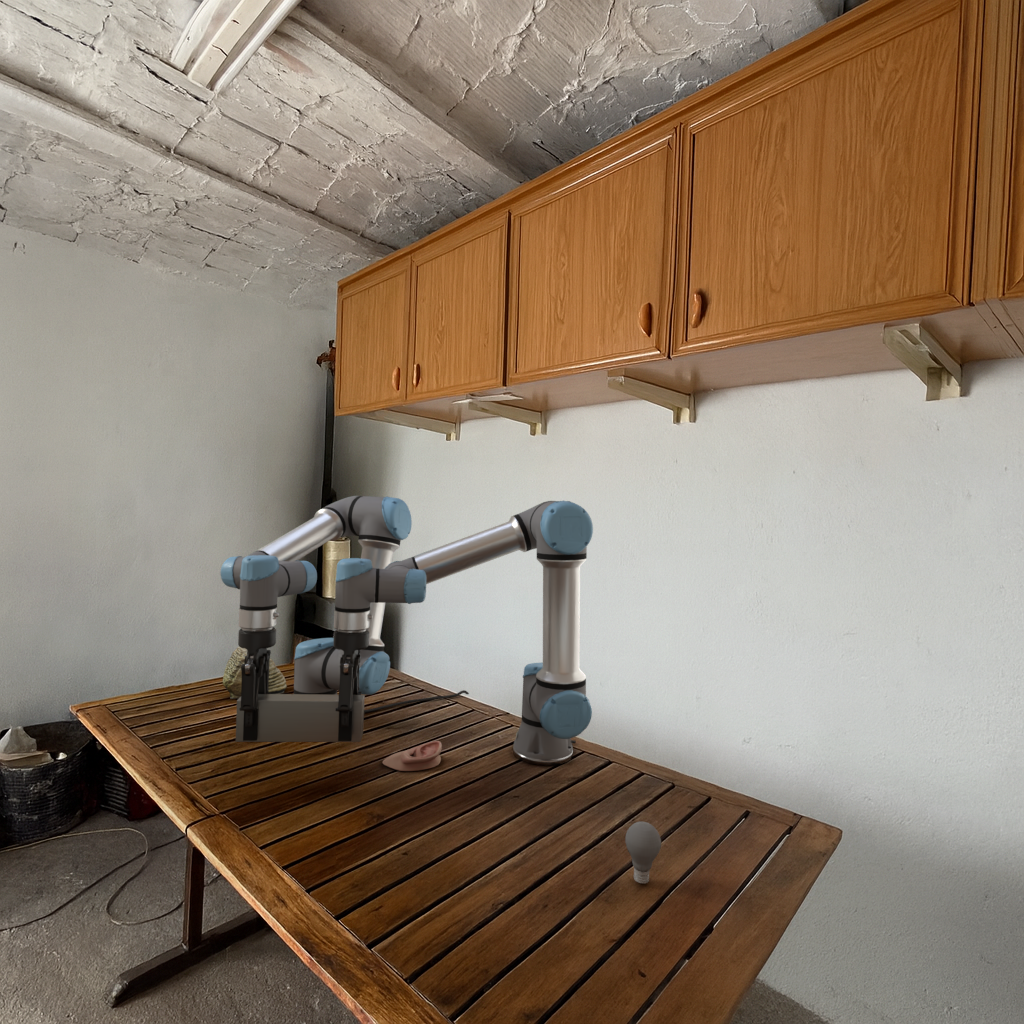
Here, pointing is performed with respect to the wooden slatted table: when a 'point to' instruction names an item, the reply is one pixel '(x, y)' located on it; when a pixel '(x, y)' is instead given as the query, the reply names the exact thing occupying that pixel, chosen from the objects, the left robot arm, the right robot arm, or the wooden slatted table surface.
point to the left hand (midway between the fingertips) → (253, 735)
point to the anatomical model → (416, 757)
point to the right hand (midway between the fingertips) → (347, 733)
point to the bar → (301, 718)
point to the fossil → (234, 675)
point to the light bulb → (642, 848)
